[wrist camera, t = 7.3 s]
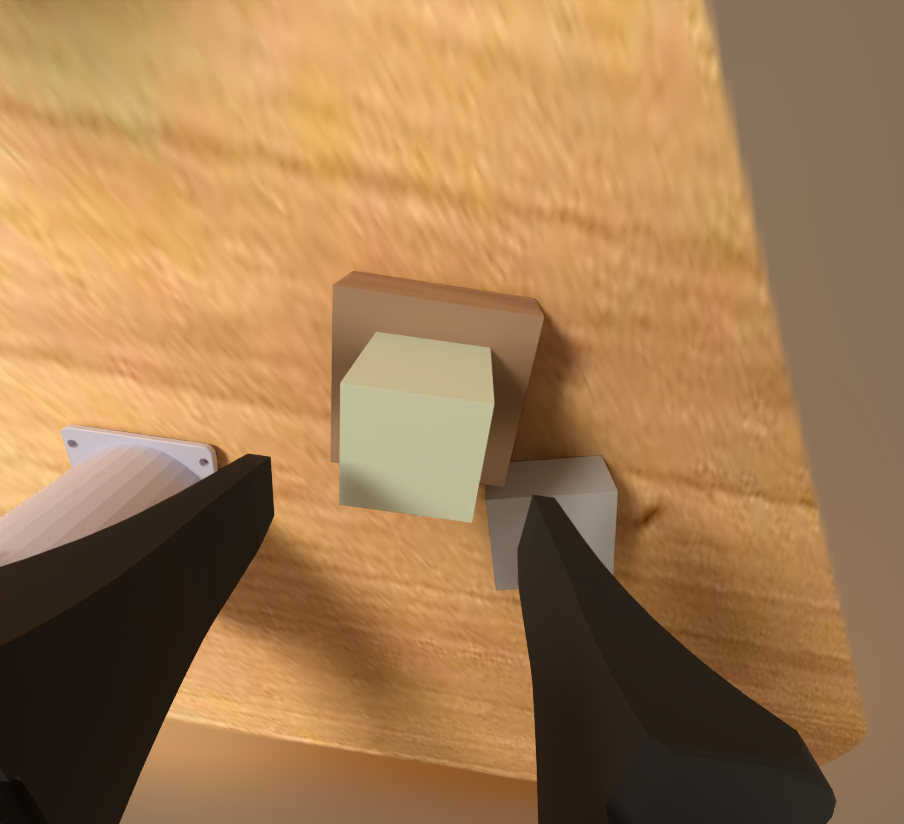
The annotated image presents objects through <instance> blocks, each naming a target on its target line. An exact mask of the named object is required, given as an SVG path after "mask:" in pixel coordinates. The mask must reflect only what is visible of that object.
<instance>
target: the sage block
mask: <svg viewBox="0 0 904 824" xmlns="http://www.w3.org/2000/svg"><path fill="white" fill-rule="evenodd" d="M493 409H494V391H493V378H492V364H491V350H490V348H489V347H482V346H475V345H467V344H460V343H453V342H446V341H439V340H431V339H424V338H417V337H410V336H403V335H395V334H388V333H381V332H376V333H375V334H374V335H373V337H372V338H371V340H370V341H369V343H368V344H367V345H366V347H365V348H364V350H363V351H362V353H361V354H360V355H359V357H358V358H357V360H356V361H355V363H354V364H353V365H352V367H351V368H350V370H349V371H348V373H347V374H346V375H345V377H344V378H343V380H342V381H341V383H340V462H339V505H345V506H352V507H360V508H367V509H375V510H382V511H389V512H397V513H404V514H412V515H419V516H427V517H434V518H441V519H449V520H456V521H464V522H471V523H472V519H473V513H474V508H475V503H476V498H477V493H478V487H479V482H480V477H481V472H482V466H483V461H484V456H485V451H486V445H487V440H488V435H489V430H490V425H491V419H492V414H493Z"/></svg>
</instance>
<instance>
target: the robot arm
mask: <svg viewBox="0 0 904 824" xmlns="http://www.w3.org/2000/svg"><path fill="white" fill-rule="evenodd" d="M61 434H62V437H63V441H64V444H65V447H66V450H67V453H68V456H69V459H70V463H71V466H72V468H71V469H70V470H68V471H67V472H65V473H64V474H62V475H61V476H60V477H58V478H57V479H55V480H54V481H52V482H51V483H50V484H48V485H47V486H45V487H44V488H42V489H41V490H39V491H38V492H37V493H35V494H34V495H32V496H31V497H29V498H28V499H26V500H25V501H24V502H22V503H21V504H19V505H18V506H16V507H15V508H14V509H12V510H11V511H9V512H8V513H6V514H5V515H3V516H2V517H1V518H0V824H119V823H120V820H121V818H122V815H123V813H124V811H125V808H126V806H127V804H128V801H129V799H130V796H131V794H132V792H133V789H134V787H135V785H136V782H137V780H138V777H139V775H140V772H141V770H142V768H143V766H144V764H145V761H146V759H147V757H148V755H149V752H150V750H151V748H152V746H153V743H154V741H155V739H156V737H157V735H158V732H159V730H160V728H161V725H162V723H163V721H164V719H165V717H166V715H167V713H168V711H169V708H170V706H171V704H172V702H173V700H174V698H175V696H176V694H177V692H178V689H179V687H180V685H181V683H182V681H183V679H184V677H185V675H186V673H187V671H188V669H189V667H190V665H191V663H192V661H193V659H194V657H195V655H196V653H197V651H198V649H199V647H200V645H201V643H202V641H203V639H204V637H205V636H206V634H207V632H208V630H209V629H210V627H211V625H212V623H213V622H214V620H215V619H216V617H217V615H218V614H219V612H220V611H221V609H222V607H223V606H224V604H225V603H226V601H227V599H228V598H229V596H230V595H231V593H232V592H233V590H234V588H235V587H236V585H237V584H238V582H239V580H240V579H241V577H242V576H243V574H244V572H245V571H246V569H247V568H248V566H249V564H250V563H251V561H252V560H253V558H254V556H255V555H256V553H257V551H258V550H259V548H260V546H261V544H262V542H263V539H264V537H265V535H266V533H267V531H268V529H269V526H270V524H271V522H272V519H273V517H274V503H273V487H272V471H271V457H268V456H261V455H254V454H247V455H245V456H243V457H241V458H239V459H237V460H235V461H234V462H232V463H230V464H228V465H227V466H225V467H223V468H221V469H220V470H218V465H217V458H216V452H215V450H214V448H213V447H212V446H210V445H208V444H204V443H197V442H190V441H183V440H177V439H170V438H163V437H156V436H149V435H142V434H135V433H128V432H122V431H115V430H108V429H101V428H94V427H87V426H80V425H73V424H72V425H68V426H66V427H64V428H63V429H62V430H61ZM204 459H206V460H207V461H208V462H209V463H208V462H206V461H204ZM517 562H518V586H519V594H520V600H521V607H522V614H523V620H524V627H525V633H526V640H527V646H528V653H529V659H530V666H531V675H532V684H533V701H534V718H535V739H536V762H537V793H538V824H826V823H827V822H828V821H829V820H830V819H831V817H832V815H833V812H834V808H835V804H836V798H835V796H834V793H833V790H832V788H831V787H830V785H829V783H828V782H827V780H826V778H825V777H824V775H823V773H822V772H821V770H820V768H819V766H818V765H817V763H816V761H815V760H814V758H813V756H812V755H811V753H810V751H809V749H808V748H807V746H806V744H805V743H804V741H803V740H802V738H801V736H800V735H799V733H798V732H797V731H796V730H795V729H793V728H792V727H791V726H789V725H788V724H786V723H785V722H783V721H782V720H781V719H779V718H778V717H776V716H775V715H773V714H772V713H770V712H769V711H768V710H766V709H765V708H763V707H762V706H760V705H759V704H758V703H756V702H755V701H753V700H752V699H750V698H749V697H748V696H746V695H745V694H743V693H742V692H741V691H739V690H738V689H737V688H735V687H734V686H733V685H731V684H730V683H729V682H728V681H726V680H725V679H724V678H722V677H721V676H720V675H718V674H717V673H716V672H715V671H713V670H712V669H711V668H709V667H708V666H707V665H706V664H705V663H703V662H702V661H701V660H700V659H698V658H697V657H696V656H695V655H694V654H692V653H691V652H690V651H689V650H688V649H687V648H685V647H684V646H683V645H682V644H681V643H680V642H679V641H678V640H676V639H675V638H674V637H673V636H672V635H671V634H670V633H669V632H667V631H666V630H665V629H664V628H663V627H662V626H661V625H660V624H659V623H658V622H657V621H656V620H655V619H653V618H652V617H651V616H650V615H649V614H648V613H647V612H646V610H645V609H644V608H643V607H642V606H641V605H640V604H639V603H638V602H637V601H636V600H635V599H634V598H633V597H632V596H631V595H630V594H629V593H628V592H627V591H626V590H625V589H624V588H623V586H622V585H621V584H620V583H619V582H618V581H617V580H616V578H615V577H614V576H613V575H612V574H611V573H610V571H609V570H608V569H607V568H606V567H605V565H604V564H603V563H602V562H601V561H600V559H599V558H598V557H597V556H596V554H595V553H594V552H593V550H592V549H591V548H590V546H589V545H588V544H587V542H586V541H585V540H584V538H583V537H582V536H581V534H580V533H579V531H578V530H577V529H576V527H575V526H574V524H573V523H572V522H571V520H570V519H569V517H568V516H567V514H566V513H565V512H564V510H563V509H562V507H561V506H560V504H559V503H558V502H557V500H556V499H555V498H554V497H547V496H540V495H532V499H531V502H530V506H529V509H528V513H527V517H526V520H525V524H524V527H523V531H522V534H521V538H520V542H519V545H518V549H517Z"/></svg>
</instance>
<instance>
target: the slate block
mask: <svg viewBox="0 0 904 824" xmlns="http://www.w3.org/2000/svg"><path fill="white" fill-rule="evenodd" d="M532 495H540V496H547V497H554V498H555V499H556V500H557V502H558V503H559V504H560V506H561V507H562V509H563V510H564V512H565V513H566V514H567V516H568V517H569V519H570V520H571V522H572V523H573V524H574V526H575V527H576V529H577V530H578V531H579V533H580V534H581V536H582V537H583V538H584V540H585V541H586V542H587V544H588V545H589V546H590V548H591V549H592V550H593V552H594V553H595V554H596V556H597V557H598V558H599V559H600V561H601V562H602V563H603V564H604V565H605V567H606V568H607V569H608V570H609V571H610V573H611V574H612V575H613V569H614V552H615V534H616V516H617V498H618V491H617V488H616V486H615V484H614V482H613V480H612V477H611V475H610V473H609V471H608V469H607V466H606V464H605V462H604V460H603V458H602V455H600V456H586V457H573V458H559V459H546V460H532V461H518V462H510V463H509V467H508V471H507V475H506V479H505V484H504V487H500V486H493V485H486V505H487V514H488V523H489V532H490V541H491V550H492V559H493V567H494V576H495V585H496V590H510V589H519V586H518V562H517V549H518V545H519V542H520V538H521V534H522V531H523V527H524V524H525V520H526V517H527V513H528V509H529V506H530V502H531V499H532Z"/></svg>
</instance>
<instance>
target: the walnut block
mask: <svg viewBox="0 0 904 824" xmlns="http://www.w3.org/2000/svg"><path fill="white" fill-rule="evenodd" d="M543 320H544V315H543V313H542V311H541V309H540V307H539V305H538V303H537V301H536V299H534V298H527V297H521V296H514V295H507V294H501V293H494V292H488V291H481V290H475V289H468V288H461V287H455V286H448V285H442V284H435V283H429V282H422V281H415V280H409V279H402V278H396V277H389V276H383V275H376V274H369V273H363V272H356V271H353V272H351V273H350V274H348V275H347V276H345V277H344V278H342V279H341V280H339V281H338V282H336V283H335V284H333V312H332V396H331V462H335V463H339V462H340V383H341V381H342V380H343V378H344V377H345V375H346V374H347V373H348V371H349V370H350V368H351V367H352V365H353V364H354V363H355V361H356V360H357V358H358V357H359V355H360V354H361V353H362V351H363V350H364V348H365V347H366V345H367V344H368V343H369V341H370V340H371V338H372V337H373V335H374V334H375V333H376V332H381V333H388V334H395V335H403V336H410V337H417V338H424V339H431V340H439V341H446V342H453V343H460V344H467V345H475V346H482V347H489V348H490V350H491V364H492V378H493V391H494V409H493V414H492V419H491V425H490V430H489V435H488V440H487V445H486V451H485V456H484V461H483V466H482V472H481V477H480V482H479V484H486V485H493V486H500V487H504V484H505V479H506V475H507V471H508V467H509V463H510V459H511V454H512V450H513V446H514V442H515V438H516V433H517V429H518V425H519V421H520V417H521V412H522V408H523V404H524V400H525V396H526V392H527V387H528V383H529V379H530V375H531V371H532V366H533V362H534V358H535V354H536V350H537V345H538V341H539V337H540V333H541V329H542V325H543Z"/></svg>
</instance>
